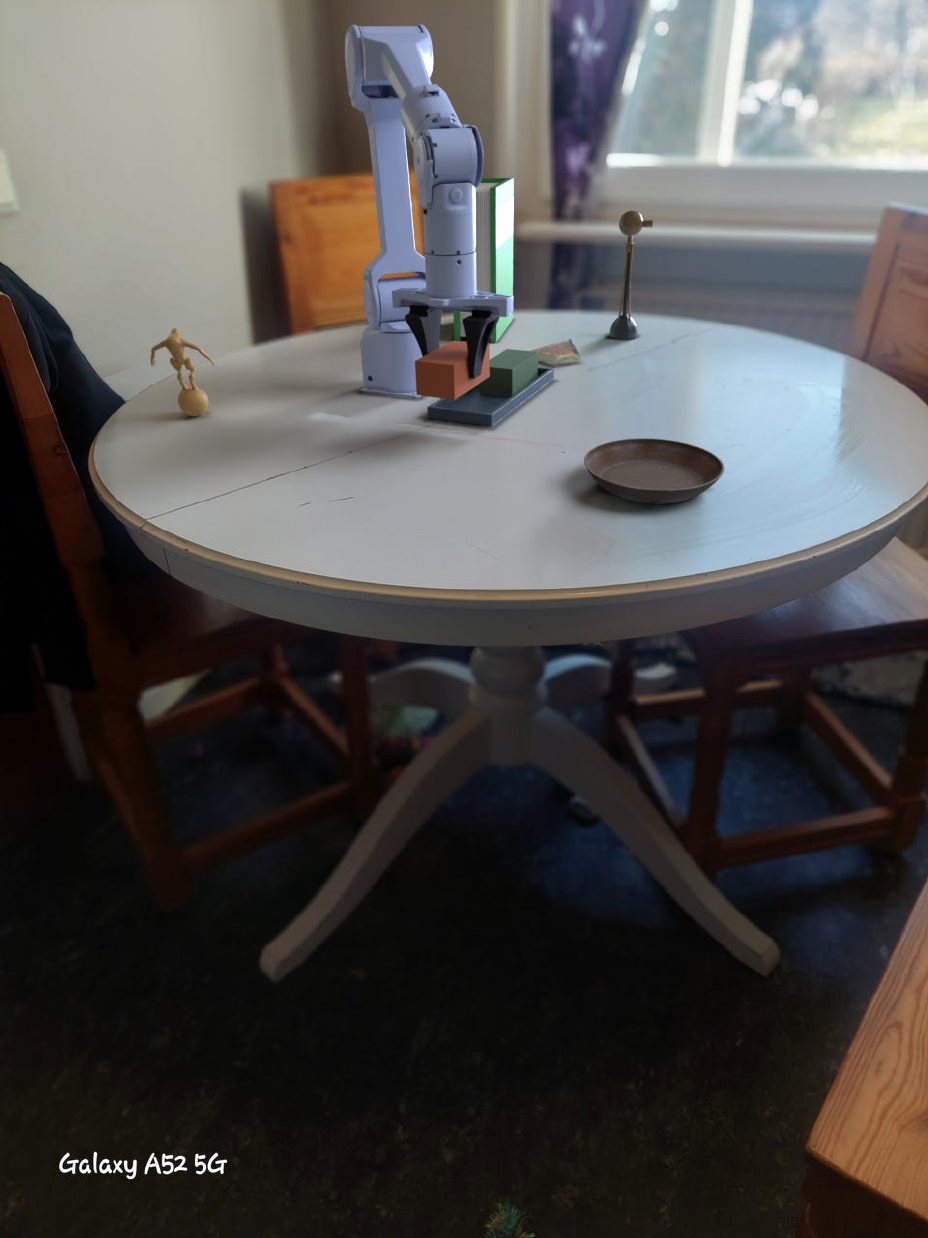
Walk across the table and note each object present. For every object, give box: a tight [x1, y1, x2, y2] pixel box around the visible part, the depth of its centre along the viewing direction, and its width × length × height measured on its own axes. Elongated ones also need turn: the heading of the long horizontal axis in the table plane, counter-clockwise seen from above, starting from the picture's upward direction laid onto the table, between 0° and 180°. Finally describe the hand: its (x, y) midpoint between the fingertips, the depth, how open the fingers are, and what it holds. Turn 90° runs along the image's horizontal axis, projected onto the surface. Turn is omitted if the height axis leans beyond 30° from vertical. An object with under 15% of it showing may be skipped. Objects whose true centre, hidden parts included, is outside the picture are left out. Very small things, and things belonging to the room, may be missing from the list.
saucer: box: [583, 437, 726, 505], centre depth 94 cm, size 15×15×3 cm
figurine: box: [150, 328, 215, 417], centre depth 115 cm, size 8×6×12 cm
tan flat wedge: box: [530, 338, 581, 366], centre depth 140 cm, size 11×8×2 cm
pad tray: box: [426, 366, 555, 428], centre depth 122 cm, size 9×23×2 cm, turn 155°
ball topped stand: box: [608, 209, 654, 340], centre depth 147 cm, size 6×5×20 cm
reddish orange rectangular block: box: [415, 340, 491, 400], centre depth 103 cm, size 5×10×4 cm, turn 155°
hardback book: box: [453, 177, 515, 343], centre depth 152 cm, size 18×7×24 cm, turn 168°
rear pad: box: [480, 348, 539, 398], centre depth 125 cm, size 5×10×4 cm, turn 155°
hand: (453, 373), depth 104 cm, fingers closed on reddish orange rectangular block, 5 cm apart
